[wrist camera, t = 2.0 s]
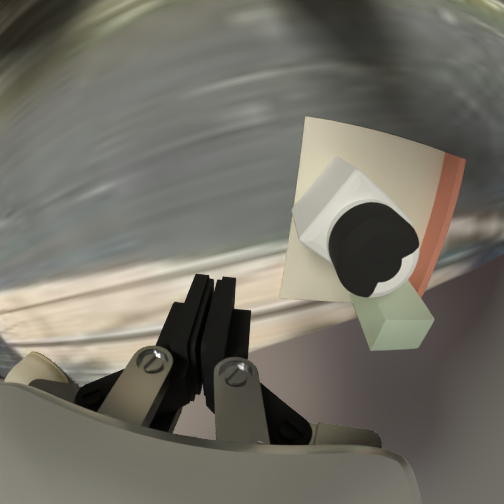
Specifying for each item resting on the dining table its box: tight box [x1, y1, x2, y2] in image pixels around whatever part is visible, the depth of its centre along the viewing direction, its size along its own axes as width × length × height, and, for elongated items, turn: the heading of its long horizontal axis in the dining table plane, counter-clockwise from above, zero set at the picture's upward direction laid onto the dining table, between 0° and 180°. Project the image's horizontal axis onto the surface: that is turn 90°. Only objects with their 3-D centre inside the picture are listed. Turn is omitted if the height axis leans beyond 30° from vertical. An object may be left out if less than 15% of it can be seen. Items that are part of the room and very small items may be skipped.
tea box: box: [350, 280, 435, 351], centre depth 26 cm, size 4×6×9 cm, turn 85°
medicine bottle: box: [292, 156, 420, 298], centre depth 21 cm, size 7×7×12 cm
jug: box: [5, 352, 69, 385], centre depth 35 cm, size 15×16×25 cm
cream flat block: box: [279, 116, 466, 303], centre depth 26 cm, size 20×17×3 cm
